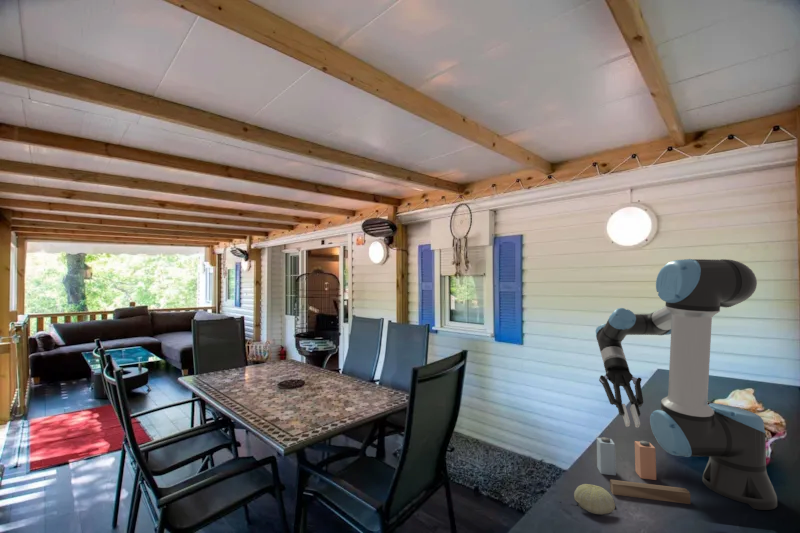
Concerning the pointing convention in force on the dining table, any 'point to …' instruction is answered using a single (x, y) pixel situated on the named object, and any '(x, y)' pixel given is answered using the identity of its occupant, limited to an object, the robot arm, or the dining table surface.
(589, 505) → the sea urchin shell
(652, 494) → the maple board
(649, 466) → the terracotta plug
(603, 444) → the grey socket block
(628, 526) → the dining table surface
